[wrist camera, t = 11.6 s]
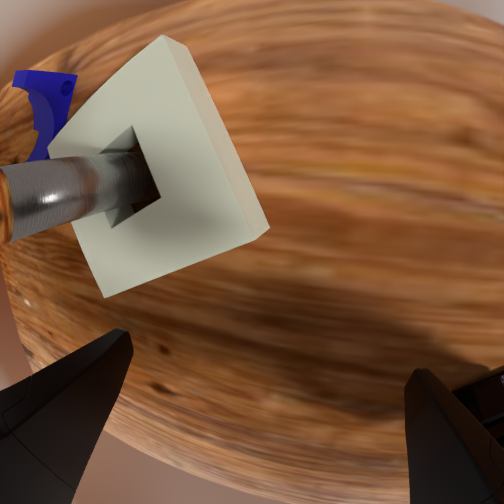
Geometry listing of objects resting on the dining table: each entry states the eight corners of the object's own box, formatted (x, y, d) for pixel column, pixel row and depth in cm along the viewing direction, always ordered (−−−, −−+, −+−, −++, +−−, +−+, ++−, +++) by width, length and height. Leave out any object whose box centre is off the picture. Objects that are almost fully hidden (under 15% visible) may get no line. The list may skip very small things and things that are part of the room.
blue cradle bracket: (56, 74, 21) (10, 71, 16) (79, 75, 20) (28, 69, 15) (37, 181, 26) (-6, 190, 20) (57, 192, 25) (9, 204, 20)
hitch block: (270, 227, 19) (254, 240, 16) (127, 284, 24) (104, 298, 22) (186, 46, 16) (162, 34, 14) (72, 145, 22) (47, 147, 20)
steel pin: (169, 198, 20) (1, 251, 9) (132, 200, 22) (-20, 248, 10) (165, 148, 19) (-11, 164, 8) (128, 154, 21) (-30, 177, 9)
